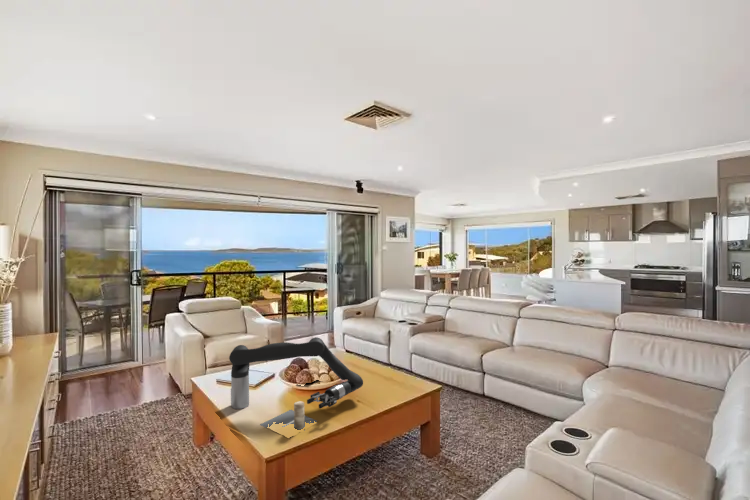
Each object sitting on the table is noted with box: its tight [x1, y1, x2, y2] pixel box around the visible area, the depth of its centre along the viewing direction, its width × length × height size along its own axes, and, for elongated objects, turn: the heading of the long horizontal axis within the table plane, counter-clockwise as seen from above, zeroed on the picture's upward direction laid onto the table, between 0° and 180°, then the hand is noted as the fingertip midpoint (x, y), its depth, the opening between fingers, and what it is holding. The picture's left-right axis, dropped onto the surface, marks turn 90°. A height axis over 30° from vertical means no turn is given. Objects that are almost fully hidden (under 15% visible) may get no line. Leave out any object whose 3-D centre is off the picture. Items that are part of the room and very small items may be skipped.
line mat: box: [259, 409, 318, 429], centre depth 188 cm, size 22×20×1 cm
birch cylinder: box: [293, 400, 305, 430], centre depth 184 cm, size 5×5×12 cm
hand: (313, 404), depth 191 cm, fingers open, 8 cm apart
